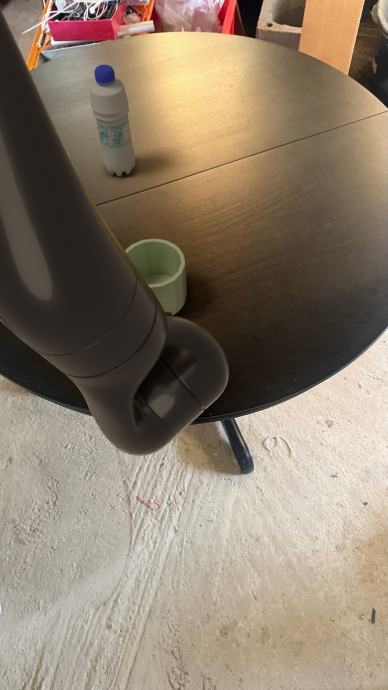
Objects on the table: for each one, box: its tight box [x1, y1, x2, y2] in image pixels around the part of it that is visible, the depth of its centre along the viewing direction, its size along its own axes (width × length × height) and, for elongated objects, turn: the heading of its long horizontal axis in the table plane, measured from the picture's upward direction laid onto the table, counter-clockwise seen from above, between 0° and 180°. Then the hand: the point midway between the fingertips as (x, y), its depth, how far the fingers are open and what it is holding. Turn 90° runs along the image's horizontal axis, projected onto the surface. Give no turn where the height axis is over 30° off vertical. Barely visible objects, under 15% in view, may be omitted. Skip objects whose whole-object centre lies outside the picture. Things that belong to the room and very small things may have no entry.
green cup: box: [124, 238, 188, 316], centre depth 74 cm, size 10×10×8 cm
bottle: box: [89, 64, 136, 177], centre depth 88 cm, size 7×7×20 cm
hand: (113, 329), depth 66 cm, fingers closed on pill bottle, 5 cm apart
